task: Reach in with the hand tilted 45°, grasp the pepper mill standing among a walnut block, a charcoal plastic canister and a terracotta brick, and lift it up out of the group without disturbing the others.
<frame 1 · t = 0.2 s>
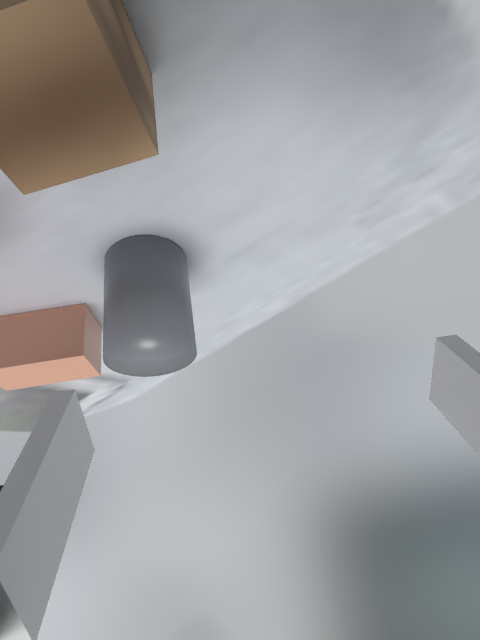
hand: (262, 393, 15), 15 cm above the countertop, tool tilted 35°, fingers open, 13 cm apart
charcoal canister: (146, 262, 32), on the countertop
walnut block: (57, 25, 18), on the countertop
terracotta brick: (47, 321, 36), on the countertop
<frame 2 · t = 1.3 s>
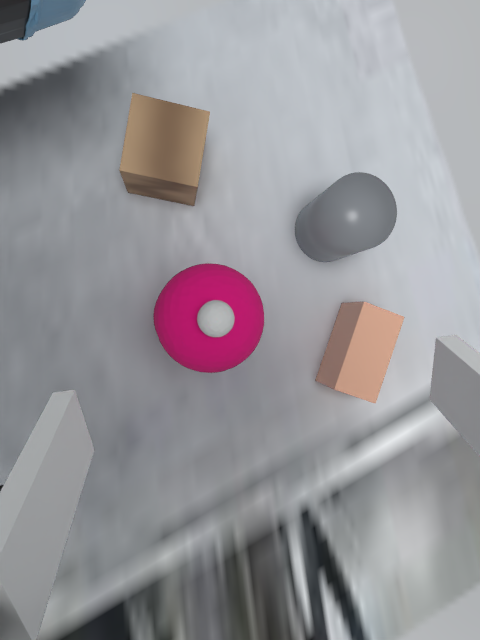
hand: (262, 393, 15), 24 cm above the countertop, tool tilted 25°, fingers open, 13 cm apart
charcoal canister: (324, 230, 41), on the countertop
walnut block: (166, 167, 38), on the countertop
pepper mill: (195, 316, 39), on the countertop
terracotta brick: (346, 348, 41), on the countertop
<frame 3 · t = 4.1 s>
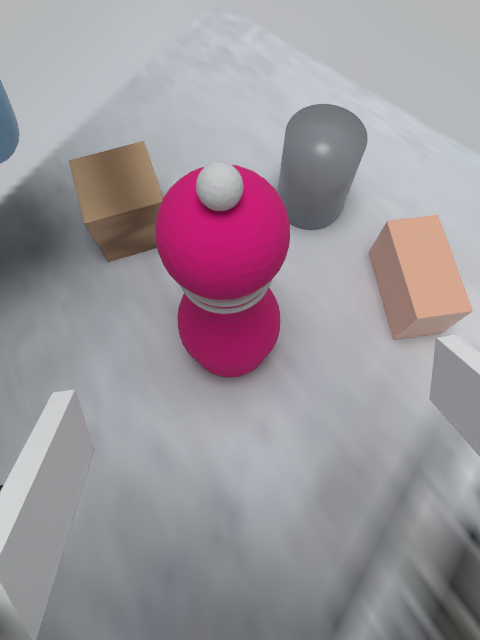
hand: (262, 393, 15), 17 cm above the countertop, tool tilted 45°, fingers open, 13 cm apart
charcoal canister: (309, 201, 38), on the countertop
walnut block: (134, 224, 38), on the countertop
pepper mill: (230, 340, 34), on the countertop
terracotta brick: (403, 292, 35), on the countertop
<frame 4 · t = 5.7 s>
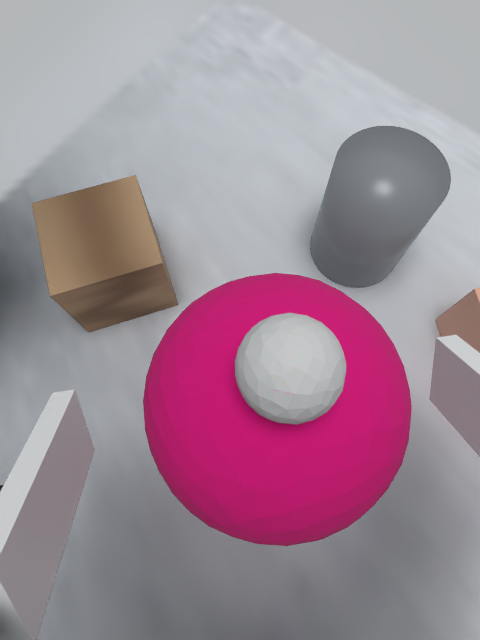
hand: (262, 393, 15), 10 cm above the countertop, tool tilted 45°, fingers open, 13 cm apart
charcoal canister: (353, 248, 29), on the countertop
walnut block: (123, 279, 29), on the countertop
pepper mill: (253, 445, 25), on the countertop
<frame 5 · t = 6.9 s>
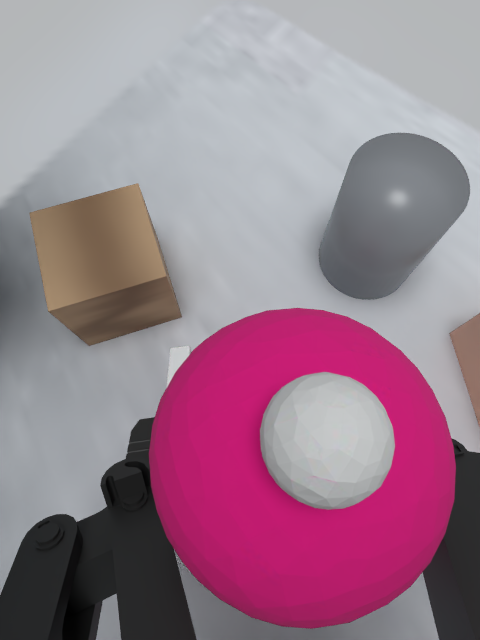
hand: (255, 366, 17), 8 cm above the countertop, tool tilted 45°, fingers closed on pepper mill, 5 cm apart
charcoal canister: (363, 258, 28), on the countertop
walnut block: (125, 290, 27), on the countertop
pepper mill: (260, 465, 24), on the countertop, touching gripper
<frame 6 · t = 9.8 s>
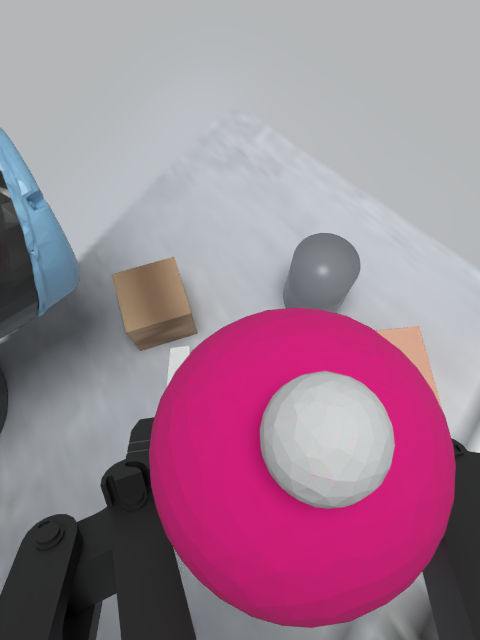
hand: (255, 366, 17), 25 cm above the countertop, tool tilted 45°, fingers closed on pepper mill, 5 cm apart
charcoal canister: (311, 297, 45), on the countertop
walnut block: (162, 316, 44), on the countertop
pepper mill: (260, 465, 24), point 16 cm above the countertop, touching gripper
terracotta brick: (389, 381, 42), on the countertop
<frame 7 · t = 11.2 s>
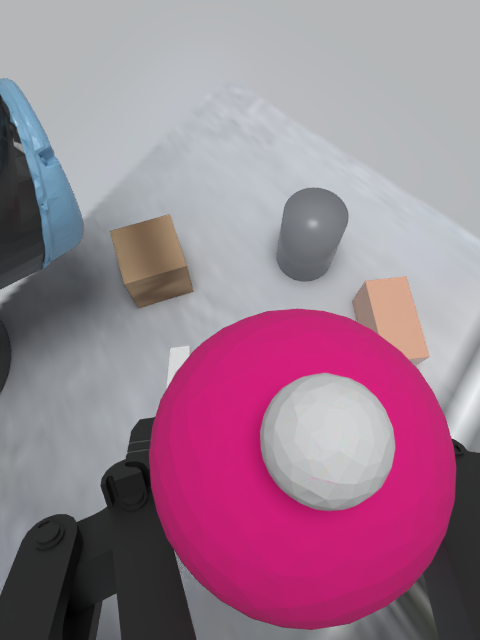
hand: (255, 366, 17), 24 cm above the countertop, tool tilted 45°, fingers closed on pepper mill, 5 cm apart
charcoal canister: (303, 256, 46), on the countertop
walnut block: (159, 276, 46), on the countertop
pepper mill: (260, 466, 24), point 16 cm above the countertop, touching gripper
terracotta brick: (379, 334, 43), on the countertop
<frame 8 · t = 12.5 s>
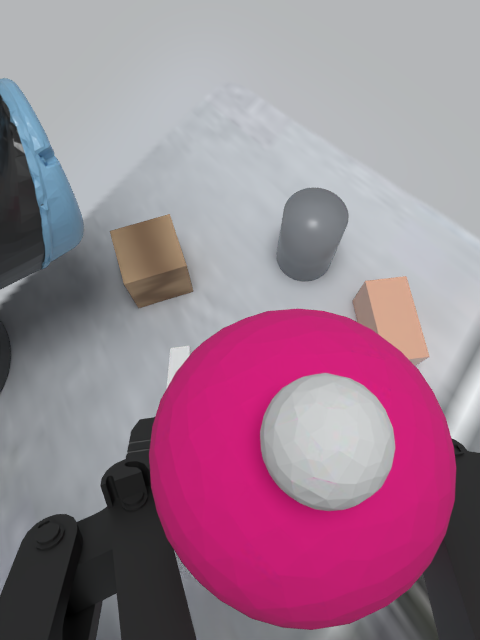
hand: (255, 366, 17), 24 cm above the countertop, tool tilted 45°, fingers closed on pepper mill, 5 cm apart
charcoal canister: (303, 256, 46), on the countertop
walnut block: (159, 276, 46), on the countertop
pepper mill: (260, 466, 24), point 16 cm above the countertop, touching gripper
terracotta brick: (379, 334, 43), on the countertop
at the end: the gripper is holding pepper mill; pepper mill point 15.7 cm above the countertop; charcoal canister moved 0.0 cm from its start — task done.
